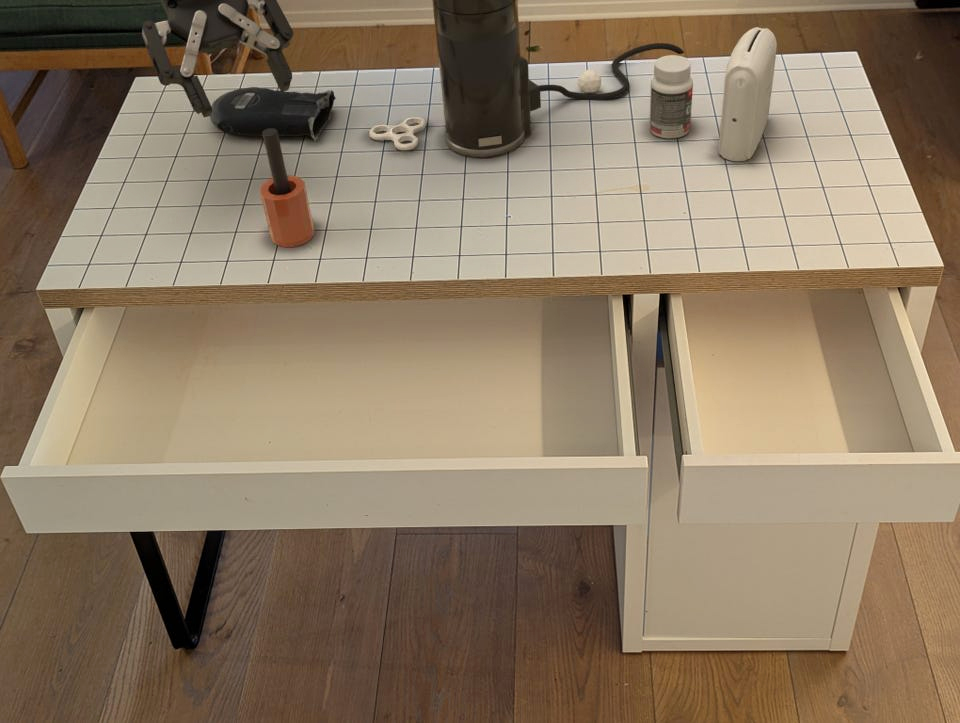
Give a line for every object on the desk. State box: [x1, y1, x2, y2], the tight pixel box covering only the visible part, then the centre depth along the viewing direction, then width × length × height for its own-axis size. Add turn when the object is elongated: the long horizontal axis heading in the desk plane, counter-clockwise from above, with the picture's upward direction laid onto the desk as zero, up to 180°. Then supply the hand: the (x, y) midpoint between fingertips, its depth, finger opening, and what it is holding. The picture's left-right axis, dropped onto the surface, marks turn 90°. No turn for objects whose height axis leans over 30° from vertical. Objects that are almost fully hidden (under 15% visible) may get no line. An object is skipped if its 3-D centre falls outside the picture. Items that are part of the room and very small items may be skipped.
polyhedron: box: [577, 69, 602, 94], centre depth 133 cm, size 3×3×3 cm
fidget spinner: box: [368, 116, 427, 151], centre depth 128 cm, size 7×6×1 cm
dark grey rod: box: [262, 128, 291, 195], centre depth 111 cm, size 2×2×12 cm
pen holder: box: [259, 174, 315, 248], centre depth 113 cm, size 5×5×6 cm
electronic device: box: [209, 86, 337, 142], centre depth 133 cm, size 9×6×15 cm
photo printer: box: [718, 26, 778, 162], centre depth 119 cm, size 10×4×12 cm, turn 157°
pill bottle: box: [648, 54, 694, 139], centre depth 123 cm, size 5×5×8 cm
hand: (248, 101), depth 109 cm, fingers open, 8 cm apart
